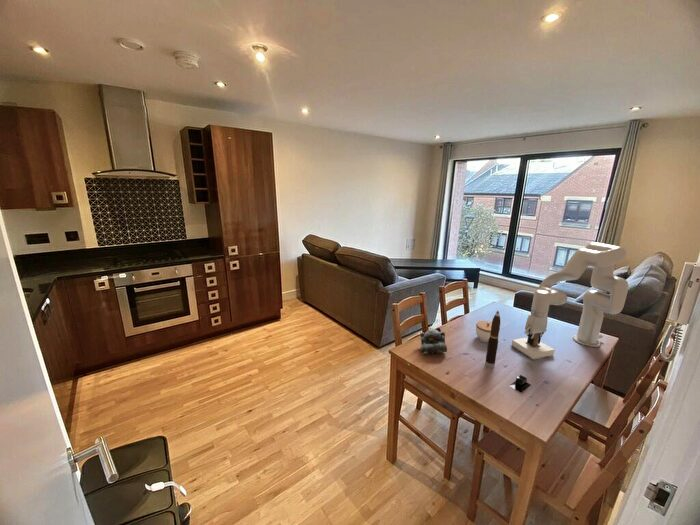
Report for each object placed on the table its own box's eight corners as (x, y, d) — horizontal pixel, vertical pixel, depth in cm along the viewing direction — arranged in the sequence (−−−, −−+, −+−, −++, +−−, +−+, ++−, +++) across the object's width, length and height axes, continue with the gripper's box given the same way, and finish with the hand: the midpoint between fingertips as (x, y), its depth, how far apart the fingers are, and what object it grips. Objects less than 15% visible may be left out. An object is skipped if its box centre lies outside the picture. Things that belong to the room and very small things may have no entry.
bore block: (531, 342, 167) (532, 336, 166) (553, 356, 154) (554, 349, 153) (511, 346, 163) (512, 339, 162) (532, 360, 150) (533, 353, 149)
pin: (532, 342, 160) (535, 329, 158) (539, 346, 156) (541, 333, 154) (527, 343, 159) (529, 330, 157) (533, 347, 155) (535, 334, 153)
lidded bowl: (502, 342, 167) (505, 325, 164) (486, 346, 162) (488, 329, 159) (485, 332, 178) (487, 316, 175) (469, 336, 174) (472, 319, 171)
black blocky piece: (519, 377, 137) (520, 369, 136) (535, 386, 131) (537, 377, 130) (505, 386, 131) (506, 378, 129) (521, 396, 125) (523, 387, 124)
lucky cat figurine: (416, 353, 155) (415, 327, 158) (424, 352, 164) (423, 328, 168) (444, 355, 146) (441, 327, 150) (451, 353, 156) (448, 327, 159)
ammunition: (486, 361, 149) (494, 308, 141) (495, 364, 146) (504, 310, 138) (483, 365, 145) (491, 311, 138) (493, 368, 143) (502, 314, 135)
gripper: (545, 308, 158) (539, 337, 163) (520, 311, 154) (515, 341, 159) (557, 314, 151) (551, 344, 156) (532, 317, 147) (526, 349, 152)
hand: (533, 342), depth 157 cm, fingers closed on pin, 4 cm apart
